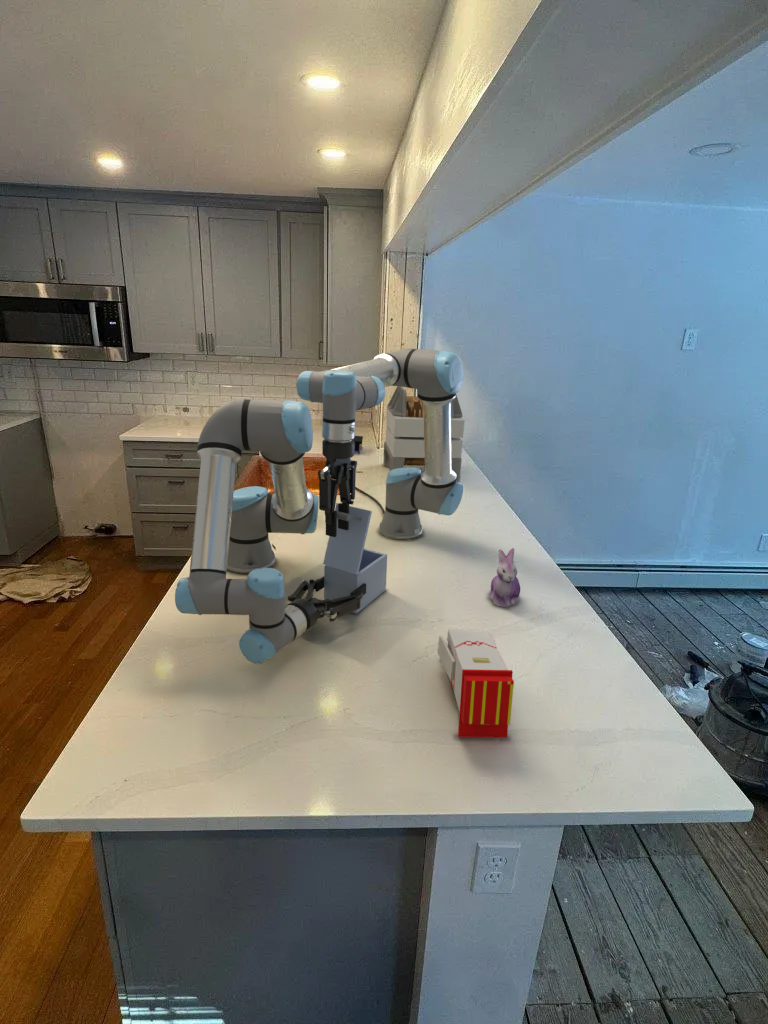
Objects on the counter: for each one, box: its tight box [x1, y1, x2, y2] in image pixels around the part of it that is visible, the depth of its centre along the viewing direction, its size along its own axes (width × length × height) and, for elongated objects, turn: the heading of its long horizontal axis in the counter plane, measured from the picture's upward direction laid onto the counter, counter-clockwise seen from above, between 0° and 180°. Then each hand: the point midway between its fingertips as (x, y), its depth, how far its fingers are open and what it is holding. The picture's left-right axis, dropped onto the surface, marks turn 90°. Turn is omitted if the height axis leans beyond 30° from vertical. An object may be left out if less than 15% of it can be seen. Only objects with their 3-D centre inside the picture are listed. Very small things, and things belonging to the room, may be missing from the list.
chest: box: [323, 547, 388, 615], centre depth 154 cm, size 16×10×11 cm, turn 151°
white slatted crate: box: [383, 386, 465, 483], centre depth 268 cm, size 34×33×41 cm
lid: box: [322, 502, 373, 574], centre depth 141 cm, size 16×10×8 cm
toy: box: [437, 628, 515, 738], centre depth 117 cm, size 12×13×30 cm
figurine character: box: [352, 435, 364, 454], centre depth 309 cm, size 7×8×15 cm
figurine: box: [489, 547, 521, 608], centre depth 154 cm, size 9×10×15 cm
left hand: (347, 582), depth 150 cm, fingers closed on chest, 10 cm apart
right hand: (337, 532), depth 140 cm, fingers open, 5 cm apart
